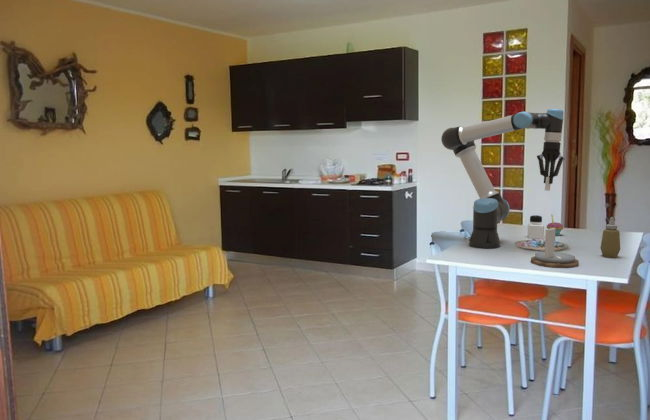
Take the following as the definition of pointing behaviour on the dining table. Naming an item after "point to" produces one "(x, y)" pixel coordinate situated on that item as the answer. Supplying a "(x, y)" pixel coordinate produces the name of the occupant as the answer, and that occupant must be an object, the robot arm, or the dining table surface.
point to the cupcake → (555, 225)
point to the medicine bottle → (535, 227)
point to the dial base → (554, 265)
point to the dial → (553, 250)
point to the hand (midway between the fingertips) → (547, 190)
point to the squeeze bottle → (610, 240)
